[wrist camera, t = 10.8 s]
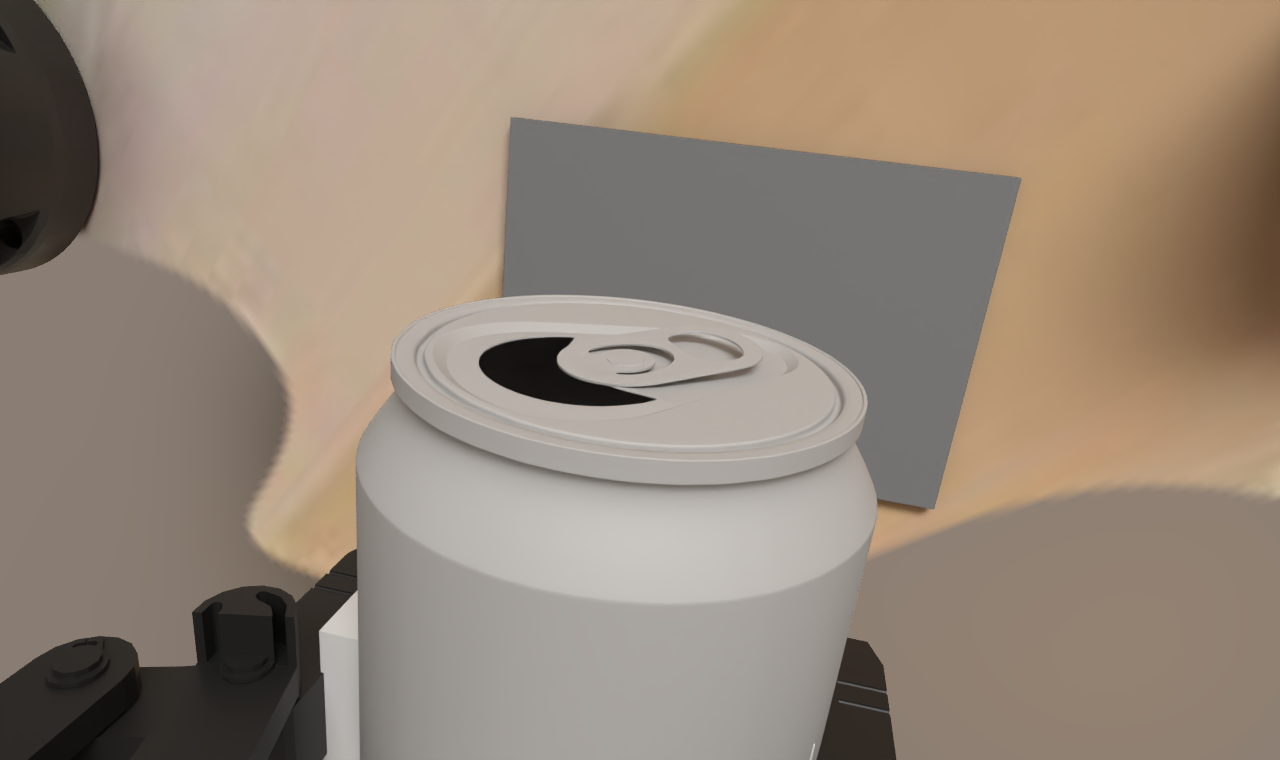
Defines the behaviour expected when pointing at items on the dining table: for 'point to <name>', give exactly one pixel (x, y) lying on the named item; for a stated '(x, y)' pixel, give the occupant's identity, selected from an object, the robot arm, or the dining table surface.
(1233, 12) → the dining table surface
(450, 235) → the dining table surface
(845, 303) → the mat
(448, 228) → the dining table surface
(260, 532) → the dining table surface
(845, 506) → the beverage can
